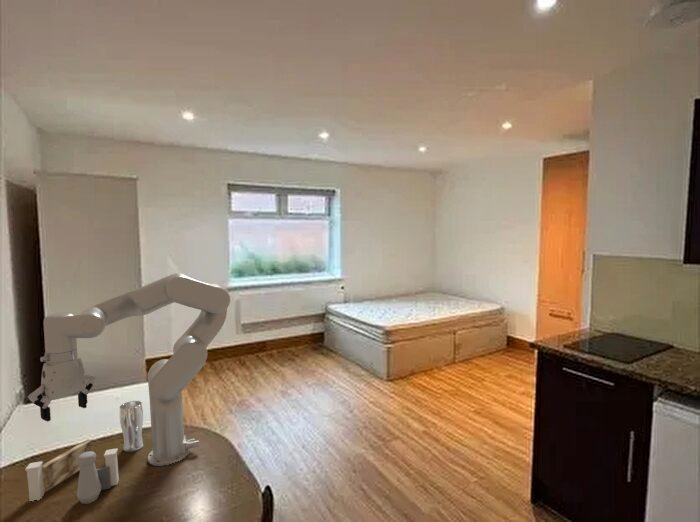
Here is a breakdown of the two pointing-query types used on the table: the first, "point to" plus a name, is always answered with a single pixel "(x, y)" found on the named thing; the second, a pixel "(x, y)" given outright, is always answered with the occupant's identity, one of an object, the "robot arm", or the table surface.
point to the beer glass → (132, 425)
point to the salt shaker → (88, 478)
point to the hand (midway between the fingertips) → (65, 413)
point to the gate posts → (106, 474)
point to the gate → (63, 465)
